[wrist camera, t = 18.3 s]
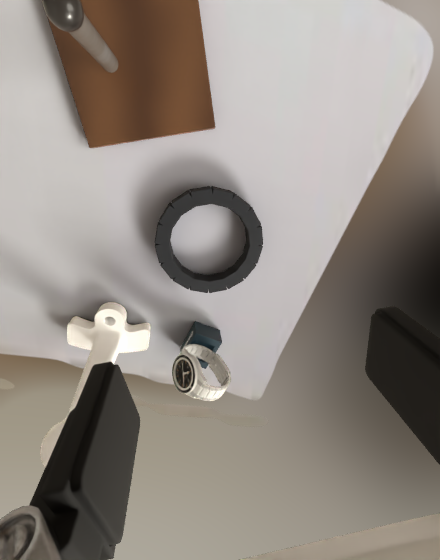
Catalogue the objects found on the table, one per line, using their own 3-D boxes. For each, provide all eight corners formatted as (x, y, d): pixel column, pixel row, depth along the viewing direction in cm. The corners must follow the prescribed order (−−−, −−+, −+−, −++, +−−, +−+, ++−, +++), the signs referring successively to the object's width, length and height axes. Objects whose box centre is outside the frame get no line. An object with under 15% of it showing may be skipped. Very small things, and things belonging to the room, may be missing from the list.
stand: (92, 148, 31) (31, 147, 18) (38, -22, 25) (-110, -199, 12) (214, 128, 32) (234, 114, 19) (191, -42, 25) (199, -229, 13)
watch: (183, 317, 42) (183, 368, 32) (229, 333, 44) (242, 386, 34) (168, 344, 44) (164, 400, 34) (213, 358, 46) (221, 415, 36)
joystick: (73, 340, 41) (-11, 486, 23) (72, 296, 38) (-26, 426, 20) (148, 345, 43) (124, 483, 25) (153, 304, 40) (129, 428, 22)
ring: (169, 293, 40) (169, 300, 38) (145, 196, 34) (142, 199, 32) (262, 276, 41) (266, 282, 39) (253, 178, 34) (258, 180, 32)
